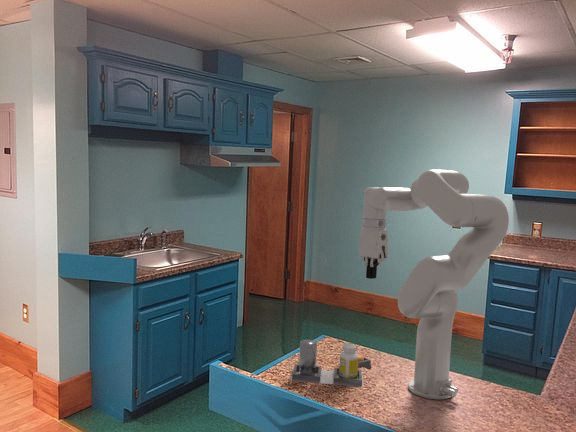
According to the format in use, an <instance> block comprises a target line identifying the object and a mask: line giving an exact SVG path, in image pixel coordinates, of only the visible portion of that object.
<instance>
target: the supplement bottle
mask: <svg viewBox="0 0 576 432" xmlns="http://www.w3.org/2000/svg"><path fill="white" fill-rule="evenodd" d="M358 354H359V353H357V345H355V344H353V343H352V344H351V343H346V344H343V345H342V352H340V354H339V367H338V368H339V377H342V378H354V379H357V374H358V369H359V367H358Z"/></svg>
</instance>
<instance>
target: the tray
mask: <svg viewBox="0 0 576 432" xmlns="http://www.w3.org/2000/svg"><path fill="white" fill-rule="evenodd" d="M290 381H291V382H299V383H312V384H324V385H325V384H326V385H335V386H336V385H337V386H348V387H360V388H364V387H365V386H364V377H363V372H362V369H359V368H358V374H357V379H354V378H342V377H339V367H334V368H333V370H326V369H325V370H324V369H322V366H320V365H316V374H315V375H306V374H299V363H298V364H294V366H293V369H292V373H291V376H290Z"/></svg>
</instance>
